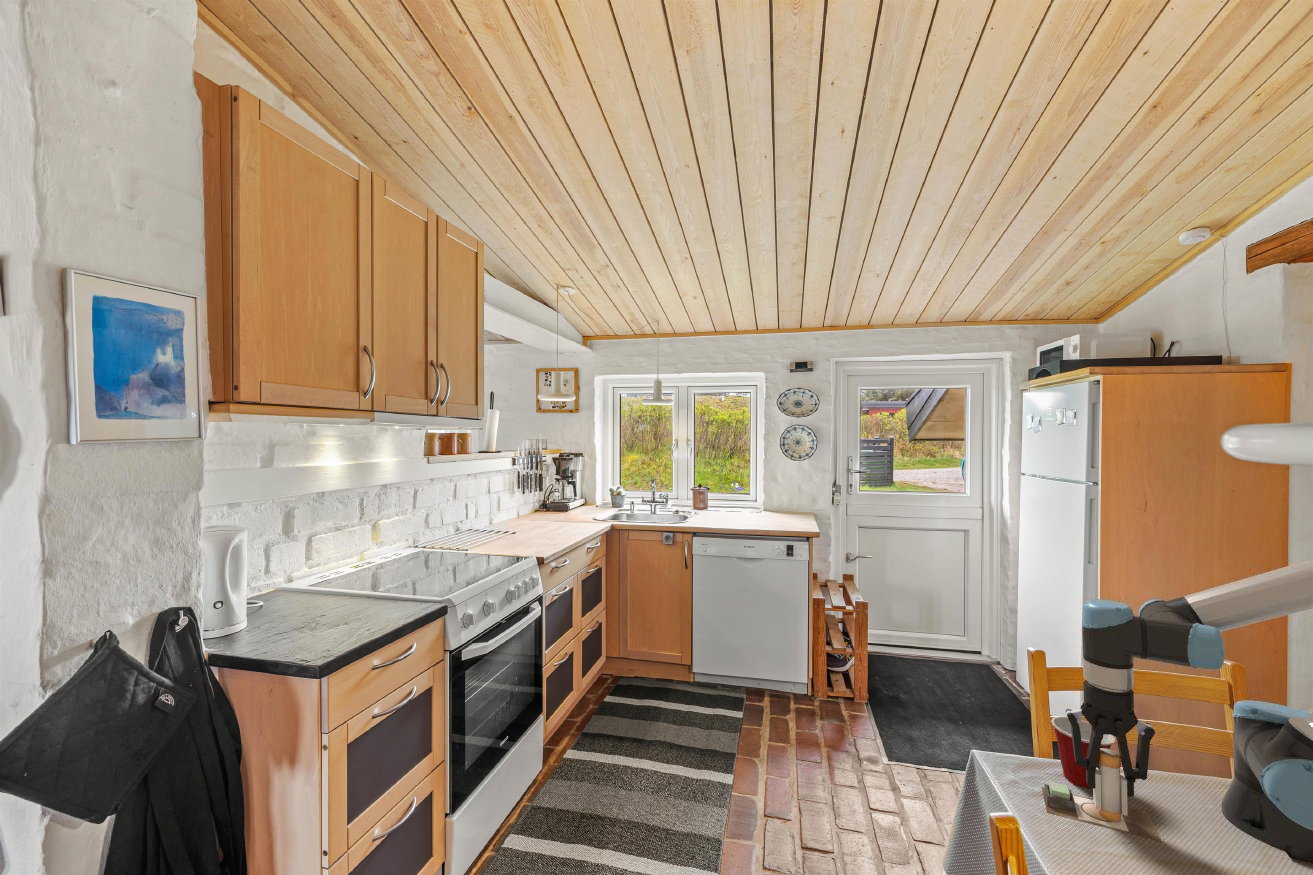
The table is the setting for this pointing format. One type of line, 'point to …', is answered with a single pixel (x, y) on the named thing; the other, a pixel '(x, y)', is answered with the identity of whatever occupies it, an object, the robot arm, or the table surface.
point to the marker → (1110, 784)
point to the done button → (1059, 790)
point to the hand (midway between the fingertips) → (1110, 807)
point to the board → (1088, 813)
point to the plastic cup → (1066, 751)
